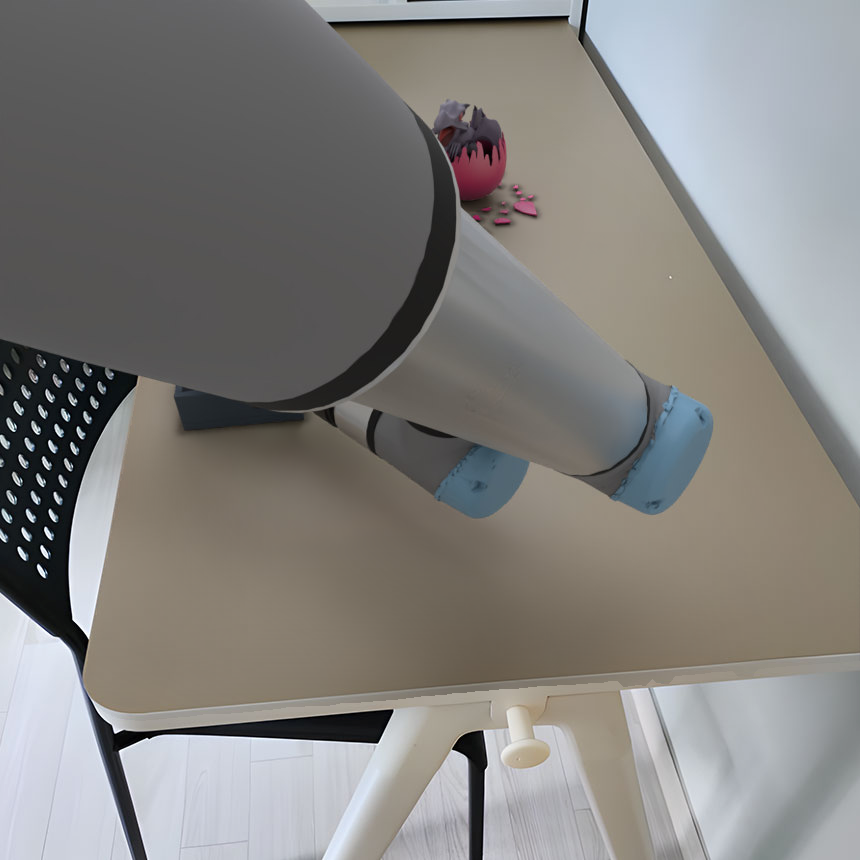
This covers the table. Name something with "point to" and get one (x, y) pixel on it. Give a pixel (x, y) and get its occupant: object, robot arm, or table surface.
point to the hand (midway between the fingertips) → (199, 287)
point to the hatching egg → (475, 154)
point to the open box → (221, 411)
